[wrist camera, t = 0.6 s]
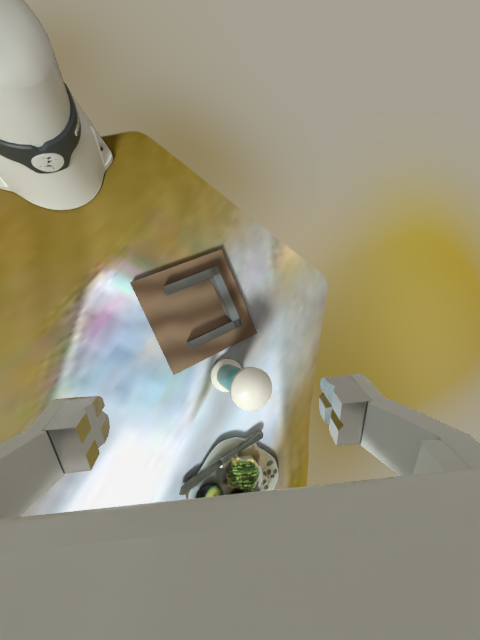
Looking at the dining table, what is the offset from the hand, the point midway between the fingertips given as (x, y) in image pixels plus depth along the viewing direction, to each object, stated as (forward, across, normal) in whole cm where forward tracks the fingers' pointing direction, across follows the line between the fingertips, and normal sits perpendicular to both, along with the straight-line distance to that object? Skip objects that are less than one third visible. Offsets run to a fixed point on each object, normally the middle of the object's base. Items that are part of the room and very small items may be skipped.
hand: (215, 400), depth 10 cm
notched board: (+40, +5, +11) cm, 42 cm away
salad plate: (+29, +1, +43) cm, 52 cm away
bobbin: (+37, 0, +23) cm, 43 cm away
